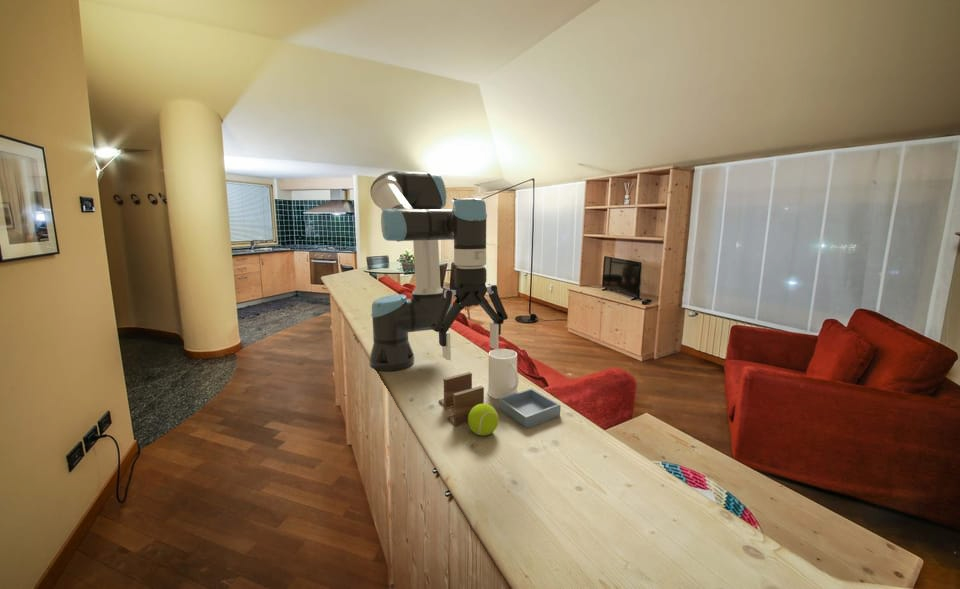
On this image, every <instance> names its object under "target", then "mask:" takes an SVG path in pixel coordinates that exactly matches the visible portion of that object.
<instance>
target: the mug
mask: <svg viewBox="0 0 960 589" xmlns="http://www.w3.org/2000/svg"><path fill="white" fill-rule="evenodd" d="M519 382H520V381H519V373H518V353H517V351H515V350H513V349H508V348H499V349H497V350H496V349H493V350H490V351H489V352H488V384H487V385H488V388H487V395H488V396H489V397H490V398H493V399H494V400H499V398H502V397H505V396H509V395H512V394H515V393H518V389H517V388H518V386H519Z"/></svg>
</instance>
